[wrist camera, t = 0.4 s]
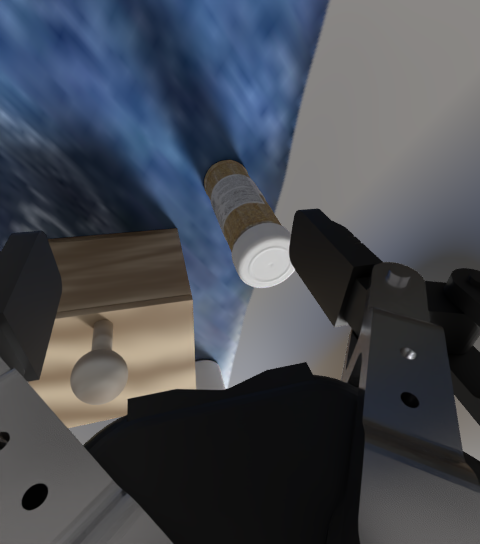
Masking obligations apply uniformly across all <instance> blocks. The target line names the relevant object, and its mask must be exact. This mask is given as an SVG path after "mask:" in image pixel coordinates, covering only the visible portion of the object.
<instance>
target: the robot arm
mask: <svg viewBox="0 0 480 544" xmlns="http://www.w3.org/2000/svg"><path fill="white" fill-rule="evenodd" d="M289 258H290V261H291V264H292V266H293V267H294V269H295V270H296V272H297V273H298V274H299V276H300V277H301V279H302V280H303V282H304V283H305V285H306V286H307V288H308V289H309V290H310V292H311V294H312V295H313V296H314V298H315V299H316V301H317V302H318V304H319V305H320V307H321V308H322V309H323V311H324V313H325V314H326V315H327V317H328V318H329V320H330V321H331V323H332V324H333V325H334V327H339V326H344V325H350V326H351V331H350V334H349V338H348V343H347V349H346V355H345V361H344V367H343V372H342V378H341V381H340V380H338V379H334V378H330V377H326V376H319V375H313V374H312V372H311V370H310V368H309V367H308V365H307V363H306V362H305V363H300V364H295V365H290V366H285V367H280V368H276V369H270V370H266V371H264V372H262V373H260V374H258V375H256V376H254V377H252V378H250V379H248V380H245V381H243V382H242V383H239V384H237V385H235V386H233V387H231V388H229V389H225V390H201V389H173V390H168V391H164V392H159V393H154V394H149V395H144V396H139V397H134V398H130V399H128V405H127V415H125V416H123V417H121V418H119V419H117V420H116V421H114V422H112V423H111V424H109V425H107V426H106V427H104V428H103V429H102V430H100V431H99V432H98V433H96V434H95V435H94V436H93V437H92V438H91V439H90V440H89V441H88V442H86V443H85V444H84V445H82V444H81V443H80V442H79V441H78V439H77V438H76V437H75V436H74V435H73V434H72V433H71V431H70V430H69V429H68V428H67V427H66V426H65V425H64V423H63V422H62V421H61V420H60V419H59V418H58V417H57V415H56V414H55V413H54V412H53V411H52V410H51V409H50V407H49V406H48V405H47V404H46V403H45V402H44V401H43V399H42V398H41V397H40V396H39V395H38V394H37V392H36V391H35V390H34V389H33V388H32V387H31V386H30V384H29V383H28V382H30V381H35V380H40V376H41V372H42V368H43V364H44V360H45V356H46V352H47V349H48V345H49V341H50V337H51V333H52V329H53V325H54V321H55V318H56V314H57V310H58V306H59V302H60V298H61V294H62V280H61V275H60V272H59V269H58V266H57V264H56V261H55V258H54V255H53V253H52V250H51V247H50V244H49V241H48V239H47V236H46V235H45V233H44V232H43V231H34V232H22V233H13V234H11V236H10V237H9V239H8V241H7V242H6V244H5V246H4V248H3V249H2V251H0V544H480V461H478V460H477V459H475V458H474V457H472V456H470V455H469V454H467V453H465V452H464V451H463V450H462V443H461V437H460V431H459V424H458V418H457V411H456V405H455V399H454V395H455V396H456V397H457V399H458V400H459V401H460V402H461V403H462V405H463V406H464V407H465V408H466V410H467V411H468V412H469V413H470V414H471V416H472V417H473V418H474V419H475V420H476V422H477V423H478V424H479V425H480V352H479V351H478V350H477V349H476V348H475V347H474V346H473V344H474V343H475V341H476V340H477V338H478V337H479V336H480V271H478V270H474V269H467V268H461V269H456V270H454V271H453V272H452V273H451V275H450V277H449V279H448V281H447V283H443V282H431V281H425V280H424V278H423V277H422V276H421V275H420V274H419V273H418V272H417V271H415V270H414V269H412V268H410V267H408V266H405V265H403V264H399V263H394V262H382V261H381V260H380V259H379V258H378V257H376V255H374V253H372V252H371V251H370V250H369V249H368V248H367V247H366V246H365V245H364V244H363V243H361V241H360V240H358V239H357V238H356V237H354V235H353V234H352V233H351V232H350V231H349V230H348V229H346V228H345V227H344V226H342V225H340V224H338V223H336V222H334V221H331V220H330V219H329V218H328V217H327V216H326V215H325V214H324V213H323V212H322V211H321V210H320V209H307V210H298V211H296V213H295V216H294V221H293V227H292V234H291V239H290V245H289Z"/></svg>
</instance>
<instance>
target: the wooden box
mask: <svg viewBox="0 0 480 544" xmlns="http://www.w3.org/2000/svg"><path fill="white" fill-rule="evenodd" d="M48 241H49V244H50V247H51V250H52V253H53V255H54V258H55V261H56V264H57V266H58V269H59V272H60V275H61V280H62V294H61V298H60V302H59V306H58V310H57V313H60V312H67V311H74V310H82V309H89V308H97V307H104V306H112V305H119V304H126V303H134V302H141V301H149V300H156V299H164V298H171V297H178V296H186V295H191V290H190V285H189V281H188V276H187V272H186V267H185V262H184V258H183V253H182V248H181V244H180V239H179V235H178V230H177V228H174V229H162V230H150V231H139V232H127V233H115V234H103V235H91V236H79V237H67V238H55V239H48Z"/></svg>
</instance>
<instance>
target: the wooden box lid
mask: <svg viewBox="0 0 480 544" xmlns="http://www.w3.org/2000/svg"><path fill="white" fill-rule="evenodd" d="M28 383H29V384H30V386H31V387H32V388H33V389H34V390H35V391H36V392H37V394H38V395H39V396H40V397H41V398H42V399H43V401H44V402H45V403H46V404H47V405H48V406H49V407H50V409H51V410H52V411H53V412H54V413H55V414H56V415H57V417H58V418H59V419H60V420H61V421H62V422H63V423H64V425H65V426H66V427H67V428H71V427H76V426H81V425H85V424H90V423H95V422H99V421H104V420H109V419H113V418H118V417H123V416H125V415H127V405H128V399H130V398H134V397H139V396H144V395H149V394H154V393H159V392H164V391H168V390H173V389H196V373H195V347H194V321H193V299H192V295H186V296H178V297H171V298H164V299H156V300H149V301H141V302H134V303H126V304H119V305H112V306H104V307H97V308H89V309H82V310H74V311H67V312H60V313H57V314H56V318H55V321H54V325H53V329H52V333H51V337H50V341H49V345H48V349H47V352H46V356H45V360H44V364H43V368H42V372H41V376H40V380H35V381H30V382H28Z"/></svg>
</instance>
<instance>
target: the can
mask: <svg viewBox="0 0 480 544" xmlns="http://www.w3.org/2000/svg"><path fill="white" fill-rule="evenodd" d="M195 373H196V389H201V390H225V386H224V382H223V378H222V374H221V370H220V367H219V365H218V364H217V363H215V362H214V361H211V360H198V361H195Z"/></svg>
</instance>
